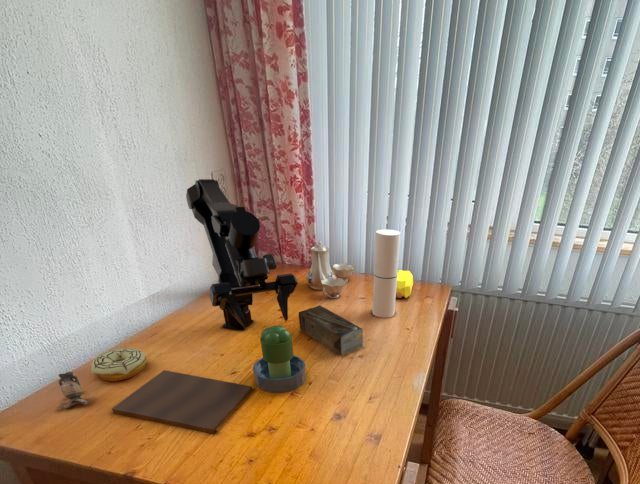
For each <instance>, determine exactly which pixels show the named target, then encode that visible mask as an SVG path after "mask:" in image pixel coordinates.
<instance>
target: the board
mask: <svg viewBox="0 0 640 484" xmlns="http://www.w3.org/2000/svg"><path fill="white" fill-rule="evenodd" d="M253 389H254V387H253V386H252V385H247V384H241V383H238V382H237V383H236V382H230V381H225V380H220V379H216V378H215V379H214V378H210V377H204V376H199V375H194V374H193V375H192V374H186V373H181V372H177V371H171V370H165V369H163V370H162V371H161V372H159V373H158V374H157V375H155V376H154V377H153V378H151V379H150V380H148V381H147V382H146V383H144V384H143V385H141V386H140V387H139V388H137V389H136V390H135V391H133V392H132V393H131V394H129V395H128V396H126V397H125V398H124V399H122V401H120V402H118V403H117V404H115V405H114V406H113V407H112V408H111V411H112V413H113V414H115V415H120V416H126V417H129V418H135V419H139V420H144V421H150V422H153V423H154V422H155V423H158V424H164V425H167V426H172V427H173V426H174V427H177V428H182V429H183V428H184V429H188V430H191V431H192V430H193V431H198V432H202V433H208V434H212V435H215V434H216V432H217V429H218V428H219V427H220V426H221V425H222V423H224V422H225V420H227V418H228V417H229V416H230V415H231V414H232V413H233V412H234V410H235V409H236V408H237V407H238V406H239V405H240V404H241V403H242V402H243V401H244V399H246V397H247V396H248V395H249V394H250V393H251V392H252V390H253Z"/></svg>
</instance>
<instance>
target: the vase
mask: <svg viewBox="0 0 640 484" xmlns="http://www.w3.org/2000/svg"><path fill="white" fill-rule="evenodd" d="M78 373H79V375H80V374H81V372H78ZM58 377H59V378H60V379H59V380H58V385H59V388H60V389H59V390H60V392H61V394H62V396H64V398H66V399H68V400H69V403H68V404H62V405H60V406H59V407H58V410H59V411H61V410H62V409H65V408H66V409H67V408H69V409H70V408H71V407H72V405H75V404H77V403H81V404H82V405H84V406H86V405H88V404H89V403H90V400H88V398H86V399H85V398H82V397H81V396H82V394H83V390H84V389H83V386H82V384H81V383H80V381H79V378H78V376H76V375H74V372H73V371H67V372H65V373H59V374H58Z"/></svg>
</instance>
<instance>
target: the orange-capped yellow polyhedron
mask: <svg viewBox="0 0 640 484" xmlns="http://www.w3.org/2000/svg"><path fill="white" fill-rule="evenodd" d="M413 285H414V276H413V274H412V273H411V271H410V270H403V269H398V273H397V286H396V298H397V299H402V298H403V297H404V298H405V299H408V297H410V296H411V294H412V291H413Z"/></svg>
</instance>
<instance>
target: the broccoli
mask: <svg viewBox="0 0 640 484" xmlns="http://www.w3.org/2000/svg"><path fill="white" fill-rule="evenodd" d="M260 335H261V336H260V346H261V347H260V348H261V354H262V355H261V356H262V358H263V359H264V360H265V361H266V362H268V368H269V376H270V378H271V379H282V378H288V377H290V376H291V368H290V360H291V359H292V358H293V355H294V345H293V344H294V343H293V335H292V334H291V333H290V332H289V331H288V330H287V329H286V327H284V326H282V325H272V326H269V327H265V328H264V329H263V330H262V331H261V334H260Z"/></svg>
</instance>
